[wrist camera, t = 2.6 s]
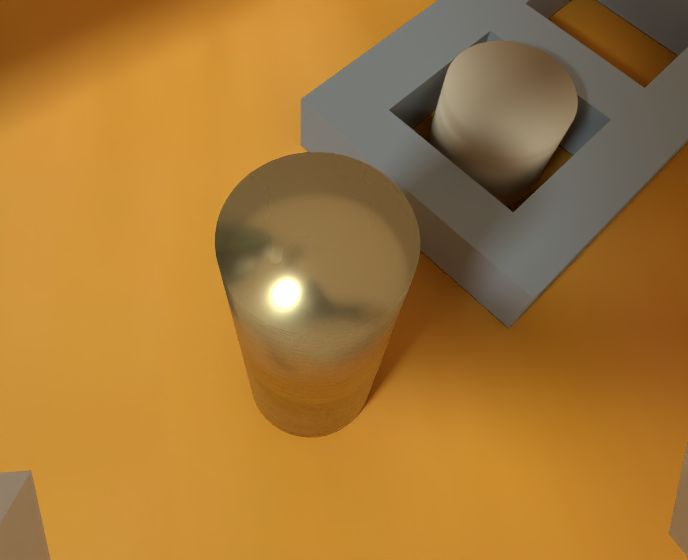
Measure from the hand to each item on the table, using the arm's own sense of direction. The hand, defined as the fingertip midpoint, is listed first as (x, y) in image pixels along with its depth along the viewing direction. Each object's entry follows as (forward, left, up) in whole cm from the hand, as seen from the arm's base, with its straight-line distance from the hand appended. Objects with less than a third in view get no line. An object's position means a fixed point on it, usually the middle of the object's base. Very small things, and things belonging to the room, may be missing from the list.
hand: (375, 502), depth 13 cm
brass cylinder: (-5, +3, -10) cm, 11 cm away
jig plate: (-7, +20, -10) cm, 23 cm away
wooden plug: (-7, +15, -10) cm, 19 cm away
